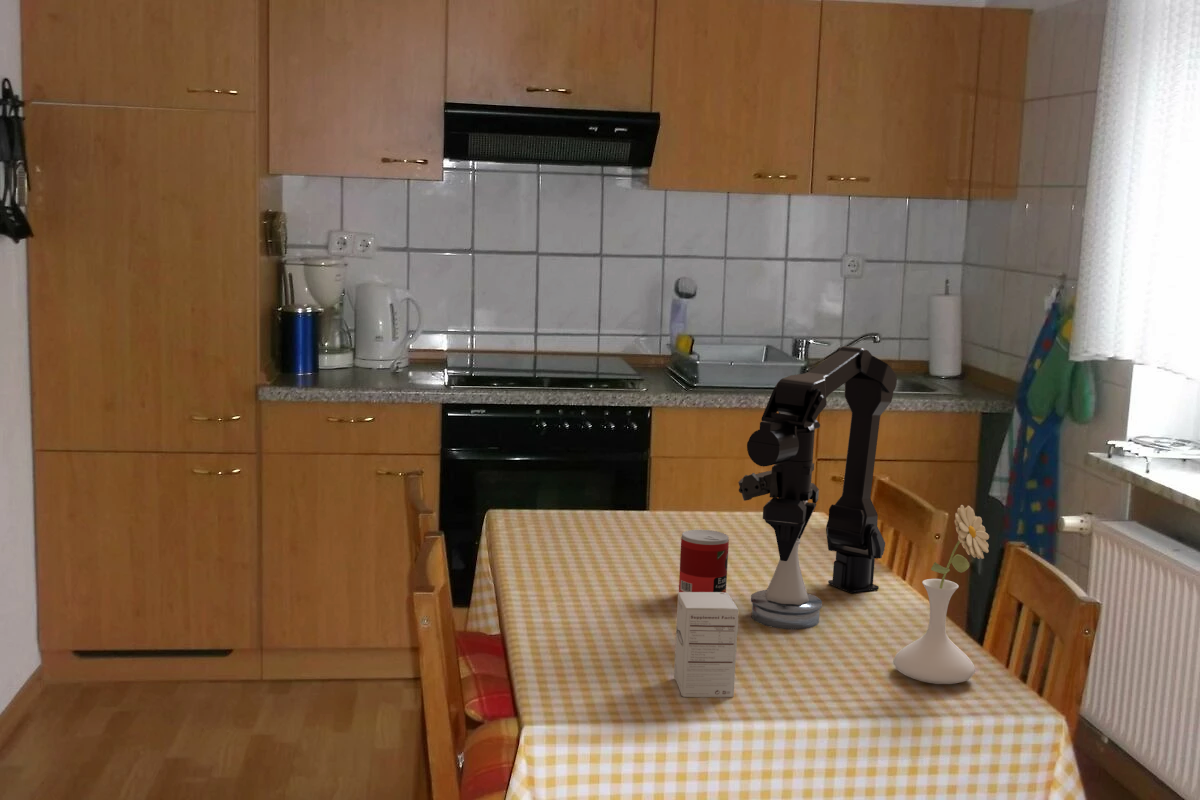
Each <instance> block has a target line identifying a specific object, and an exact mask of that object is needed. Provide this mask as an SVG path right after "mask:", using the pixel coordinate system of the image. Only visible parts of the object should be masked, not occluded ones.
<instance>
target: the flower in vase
mask: <svg viewBox="0 0 1200 800" xmlns="http://www.w3.org/2000/svg"><path fill="white" fill-rule="evenodd" d="M959 506H960V507H958V508H957V512H955V514H954V516H955V519H954V525H955V530H956V533H957V534H958V536H957V539H958V540H957V542H956V544H955V545H954V547H953V549H952V552H951V554H950V557H949V560H948V563H947V565H946V567H944V566H942V565H940V564H939V563H937V562H936V561H935V562H934V563H933V565H932V566H931V568H930V571H933V572H935V573H939V574H943V575H942V578H928V579H924V580H922V581H921V582H922V585H923V587H924V588H925V590H926V593H927V596H928V601H929V602H928V603H929V622H928V627H927V630H926V632H925V633H924V634H923V635H922V636H920V637H919V638H918V639H915V640H914V641H912V642H911V643H909V644H907V645H905V646H904V647H902V648H901V649H900V650H899V651H898V652H897V653H896V654H895V655H894V658H893V660H892V663H893V665H894V667H895V669H896V670H897V671H898V672H899V673H901V674H902V675H904V676H906V677H908V678H909V679H912V680H916V681H919V682H922V683H928V684H934V685H935V684H936V685H937V684H938V685H952V684H953V685H954V684H958V683H964V682H966V681H969V680H970V679H971V678H972V677H973V676H974V675H975V673H976V668H975V665H974V663H973V662H972V660H971V659H970V658H969V657H968V655H967V654H966V653H965V652H964V651H963V650H962V649H960V647H958V646H957V645H956V644H955V643H954V642H953V641H952V640H951V639H950V638H949V636H948V634H947V632H946V631H947V630H946V629H947V628H946V619H947V613H948V607H949V604H950V600H951V598H952V596H953V595H954V593H955V592H956V590H957V589H959V584H958V583H957V582H954V581H951V580H949V579H946V577H947V574H948V573H949V572H950V571H951V569H950V566H951V565H952V566H953V568H954V569H955V570H956V571H957V572H958V573H965V572H966V571H967V570H968V569H969V568H970V562H969V561H968V559H967V558H966V557H964V556H963V555H961V554H957V553H956V551H957V549H958V547H959V545H960V544H961V546H962V547H963V549H964V550H965V552H966V553H967V555H969V556H970V555H971V556H972V557H973V558H974V559H976V558H977V559H979V560H982V559H985V556H984V553H986V554H988V553H989V543H988V541H987V540H989V538H990V534H988V533H987V532H986V527H985V526H984V525H983V524H982V523H983V520H982V517H981V516H977V515H976V514H975V510H974V508H973V507H971V506H970V505H967V506H966V507H965V505H963V504H961V505H959ZM955 553H956V554H955Z"/></svg>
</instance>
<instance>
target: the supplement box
mask: <svg viewBox="0 0 1200 800" xmlns="http://www.w3.org/2000/svg"><path fill="white" fill-rule="evenodd" d="M676 608H677V609H676V610H677V611H676V612H677V613H676V628H675V629H676V630H675V631H676V632H675V646H674V647H675V649H674V667H673V669H674V670H673V677H674V680H675V682H676V684H677V686H678V689H679V691H680V695H681V697H683V698H733V697H734V694H735V682H736V681H735V679H736V677H735V676H736V675H735V674H736V660H737V644H738V626H739V608H738V606H737V604H736V602H734V599H733V598H732V597H731V596H730V594H729V592H726V593H724V592H679V591H678V593H677V607H676Z"/></svg>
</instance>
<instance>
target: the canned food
mask: <svg viewBox="0 0 1200 800" xmlns="http://www.w3.org/2000/svg"><path fill="white" fill-rule="evenodd" d="M729 538H730V537H729V535H727V534H726V533H723V532H720V531H717V530H709V529H689V530H686V531H683V532H682V533H681V537H680V556H679V557H680V558H679V577H678V579H679V580H678V592H724V593H727V582H728V581H727V580H728V578H727V577H728V564H729V563H728V560H729V547H730V546H729V544H730V543H729V542H730V539H729Z"/></svg>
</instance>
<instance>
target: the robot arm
mask: <svg viewBox="0 0 1200 800" xmlns="http://www.w3.org/2000/svg"><path fill="white" fill-rule="evenodd" d="M897 382H898V379H897V374H896V372H895V371H894V370H893V369H892V366H890V365H889V364H888V363H886V362H885V361H883V360H881V359H879V358H877V357H876V356H874V355H872V353H871V352H870V351H869V350H867V349H866V348H864V347H856V346H848V345H846V346H845V345H844V346H841V347H840V346H839V347H838V348H837V349H836V351H835V353H834V354H832V355H831V356H829V357H828V358H827V359H825V360H823V361H822V362H821V363H819V364H818V365H817V366H815V367H814V368H812V369H811V370H810V371H808V372H804V373H799V374H791V375H788V376H786V377H782V378H781V379H780V380H779V381H778V382H776V385H775V386H774V388H773V390H772V392H771V395H770V397H769V400H768V402H767V405H766V406H765V409H764V411H763V414H762V416H761V418H760V419H761V421H759V429H757V430H755V431H754V432H752V433H751V435H750V437H749V438H748V440H747V443H746V451H747V454H748V456H749V458H750V460H751V461H752V462H753V463H754V464H755V465H758V466H759V467H770V466H772V465H773V466H772V467H771V470H768V471H763V472H760V473H759V472H758V473H755V472H752V473H750V474H745V475H744V476H743V477H741V479H740V480H739V481H738V482H737V483H738V486H739V487H738V492H739V493H740V494H741V495H742V499H743V501H745V502H746V501H751V500H752V499H753V498H756V497H761V496H765V495H768V494H769V498H771V499H770V500H768V501H767V502H766V503H765V504H764V505H763V508H762V520H764V522H765V523H766V524H768V525H769V526H771V528H772V529H773V530H774V534H775V538H776V539H775V540H776V543H777V549H778V555H779V560H781V561H787V560H788V558H789V556H790V554H791V552H792V550H793V547H794V545H795V543H796V541H797V539H798V538H799V539H800V540H801V538H802V536H803V534H804V531H805V529H806V527H807V525H808V523H809V521H810V518H811V517H812V514H813V513H814V511H815V509H816V506H817V502H818V501H819V492H820V489H819V487H817V485H816V484H815V483H813V482H812V477H813V475H812V474H813V471H814V470H815V463H813V461H814V460H813V459H814V449H815V448H814V444H815V432H816V431H815V430H817V429H820V428H821V424H820V422H819V421H818V419H817V418H818V416H819V415H820V414H821V412H822V411H823V410H824V409H825V408H826V407H827V405H828V404H827V397H829V395H831V394H832V393H834V392H835V391H836V390H837V389H839V388H840V387H841V386H843V385H844V399H845V400H846V403H847V405H848V407H849V410H850V411H851V417H850V419H851V420H850V427H849V433H848V435H849V436H848V441H847V442H848V443H847V451H846V452H847V453H846V458H845V459H846V460H845V470H844V477H843V486H842V492H841V496H840V498H838V500H837V501H836V502H835V504H831V505H830V507H829V508H828V518H827V521H826V522H827V523H826V527H825V532H826V541H827V549H828V551H829V552H835V560H834V561H833V571H832V579H830V580H828V584H829V585H831V586H834V587H836V588H838V589H840V590H843V591H845V592H847V593H849V594H850V593H851V594H852V593H853V594H854V593H859V592H860V593H861V592H868V591H875V590H879V589H880V586H879V585H876V584H874V575H875V560H876V559H882V557H883V556H884V554H885V553H884V552H885V548H886V541H885V539H884V537H883V535H882V533H881V531H880V528H879V527H878V518H879V516H878V512H877V510H876V507H875V505H874V503H873V501H872V498H871V495H872V494H871V493H872V487H873V478H874V469H875V465H876V463H875V462H876V455H877V445H878V438H879V437H878V436H879V431H880V429H879V428H880V420H881V417H882V414H883V413H884V412H885V410H886V409H887V408H888V407H889V406H890V404H892V401H893V396H894V391H895V390H896V388H897V385H898V383H897ZM810 500H811V501H812V502H809V501H810Z"/></svg>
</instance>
